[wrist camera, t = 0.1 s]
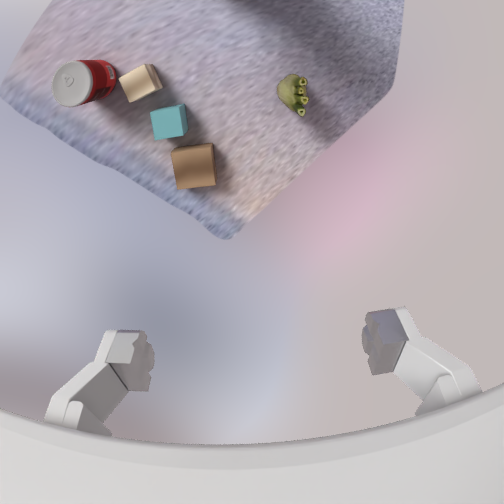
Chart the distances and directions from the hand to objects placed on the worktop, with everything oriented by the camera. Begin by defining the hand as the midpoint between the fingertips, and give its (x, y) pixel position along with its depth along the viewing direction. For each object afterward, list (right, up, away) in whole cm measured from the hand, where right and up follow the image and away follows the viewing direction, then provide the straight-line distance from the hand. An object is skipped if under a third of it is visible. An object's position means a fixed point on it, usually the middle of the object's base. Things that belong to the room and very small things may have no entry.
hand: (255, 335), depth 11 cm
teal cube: (-14, +27, +39) cm, 50 cm away
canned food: (-28, +35, +34) cm, 56 cm away
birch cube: (-19, +33, +35) cm, 52 cm away
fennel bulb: (+6, +31, +37) cm, 49 cm away
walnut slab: (-10, +20, +44) cm, 50 cm away
